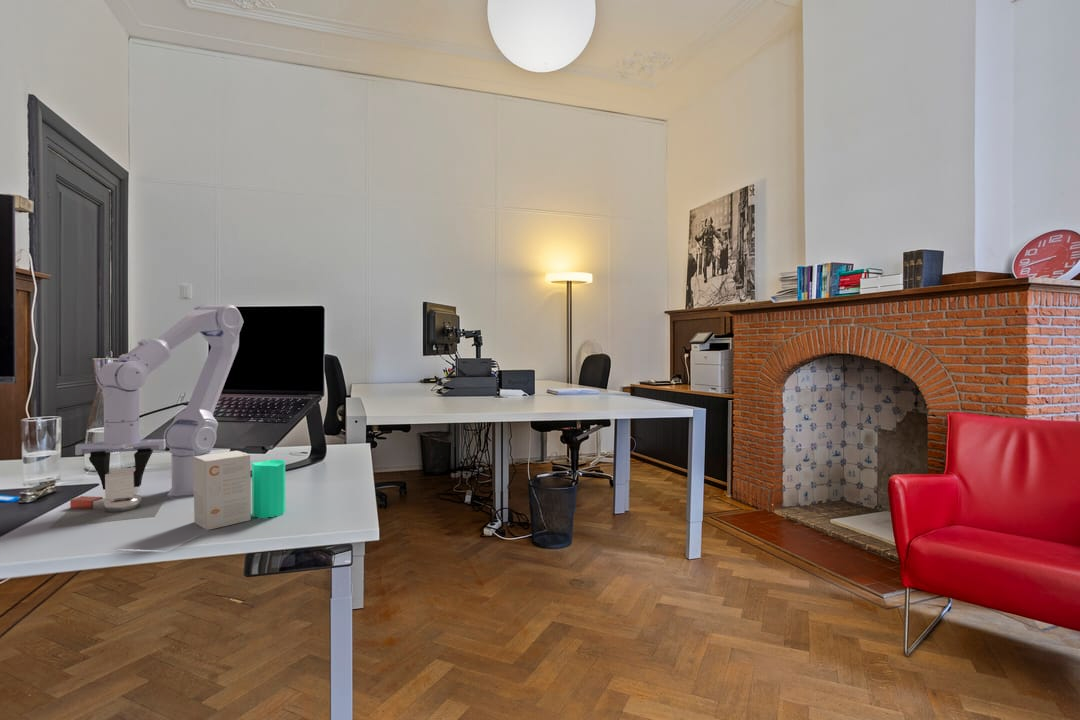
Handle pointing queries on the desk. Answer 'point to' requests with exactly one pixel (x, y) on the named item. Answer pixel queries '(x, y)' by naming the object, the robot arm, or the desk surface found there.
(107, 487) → the pale grey cube
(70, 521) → the mat
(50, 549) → the desk surface
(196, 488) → the small box
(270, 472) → the candle
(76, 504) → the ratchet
